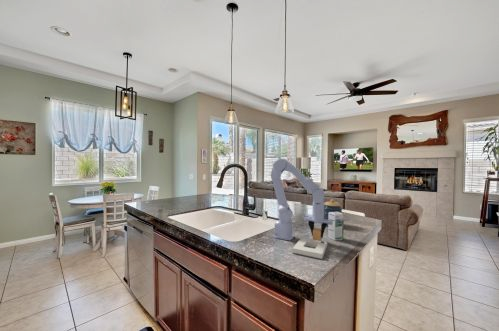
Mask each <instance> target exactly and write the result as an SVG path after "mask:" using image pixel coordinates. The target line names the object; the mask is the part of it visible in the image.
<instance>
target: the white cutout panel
mask: <svg viewBox="0 0 499 331" xmlns="http://www.w3.org/2000/svg"><path fill="white" fill-rule="evenodd" d="M327 249H328V242H327V241H323V240H321V241H318V240H313V238H312V239H310V238H305V237H300V239H299V240H298V241H297V242H296V243H295V245H294V246H293V247H292V254H294V255H298V256H303V257H307V258H308V257H309V258H313V259H317V260H323V258H324V256H325V254H326V251H327Z"/></svg>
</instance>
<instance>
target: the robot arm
mask: <svg viewBox="0 0 499 331" xmlns="http://www.w3.org/2000/svg"><path fill="white" fill-rule="evenodd" d="M285 171H286V172H289V173H291V174H292V175H293V176H294V177H296V178H297V180H299V181H300V183H301V186H302V187H303V188H304V189H305V190H306V191H307V192H308V193H309V194H312V198H313V199H312V200H313V201H312V212H311V213H312V215H311V216H310V217H307V216H304V217H303V222H308V223H307V224H308V227H309V229H310V233H311V236H312V237H313V229H314V228H315V223H316V224H317V223H318V224H321V227H320V228H321V238H322V239H323V238H324V233H325V230H326V228H327V227H328V226H327V224H330V225H332V224H333V221H331V220H326V219H324V203H325V202H324V201H325V199H324V197H325V191H324V189H323V188H322V187H320V185H319V184H316V182H314V179H313V178H310V177H306V176H305V175H303V173H302V172H300V170H299V169H297V167H296V166H295V165H294V164H292V163H291V162H290V161H288V159H286V158H277V159H276V160H275V161H274V162H273V164H272V168H271V173H270V178H271V181H272V186H273V189H274V193H275V197H276V200H277V204H278V213H279V214H278V220H276V221H275V222H274V231H273V232H274V236H273V238H274V239H279V240H280V239H281V240H287V241H292V240H293V238H294V237H295V235H294V234H293V220H292V217H293V216H294V213H293V210H292V209H291V208H290V205H289V203H288V201H287V197H286V194H285V190H284V186H283V185H284V184H283V183H282V179H281V176H282V174H283V172H285Z"/></svg>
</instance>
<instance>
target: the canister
mask: <svg viewBox="0 0 499 331" xmlns="http://www.w3.org/2000/svg"><path fill="white" fill-rule="evenodd" d="M342 211H343V207H342V204H341V203H339V202H338V201H335V199H334V198H331V199H330V201H325V202H324V219H326V220H328V213H329V212H340V213H343V212H342ZM326 227H328V224H327V226H326Z"/></svg>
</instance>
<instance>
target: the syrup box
mask: <svg viewBox="0 0 499 331" xmlns="http://www.w3.org/2000/svg"><path fill="white" fill-rule="evenodd" d="M344 219H345V217H344V213H343V212H342V213H340V212H329V213H328V220H331V221H333V224H332V225H330V224H328V226H327V227H328V228H327V229H328V230H327V231H328V234H327V235H328V238H329V239H331V240H332V241H344V232H345V230H344V229H345V228H344V225H345V224H344V221H345V220H344Z"/></svg>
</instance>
